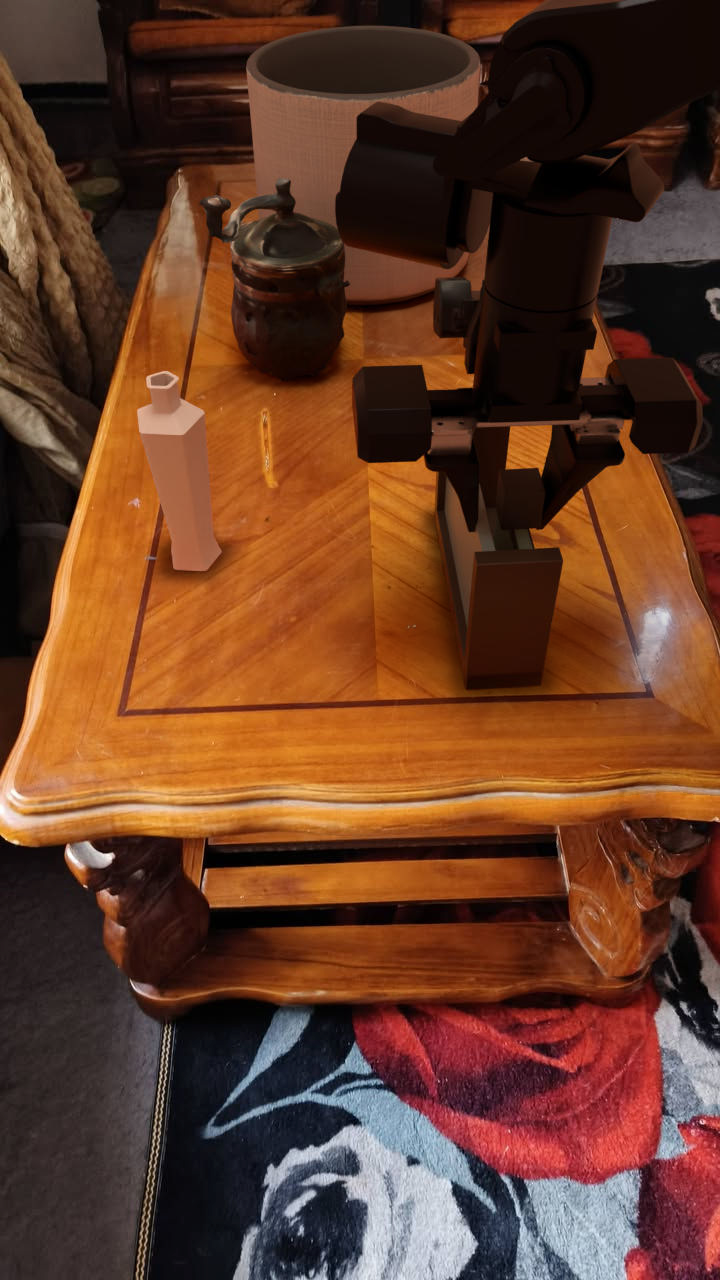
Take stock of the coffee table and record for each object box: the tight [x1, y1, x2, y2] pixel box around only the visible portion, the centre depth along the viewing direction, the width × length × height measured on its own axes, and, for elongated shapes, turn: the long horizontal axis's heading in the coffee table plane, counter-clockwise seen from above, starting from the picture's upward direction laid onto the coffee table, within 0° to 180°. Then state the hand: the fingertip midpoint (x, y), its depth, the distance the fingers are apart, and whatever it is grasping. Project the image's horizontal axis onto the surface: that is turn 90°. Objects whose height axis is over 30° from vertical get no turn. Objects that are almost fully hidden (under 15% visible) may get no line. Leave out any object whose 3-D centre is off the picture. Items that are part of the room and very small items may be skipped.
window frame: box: [433, 426, 564, 691], centre depth 65 cm, size 5×18×11 cm, turn 3°
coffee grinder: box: [198, 178, 350, 382], centre depth 84 cm, size 13×15×18 cm
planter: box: [245, 25, 481, 306], centre depth 98 cm, size 23×23×20 cm
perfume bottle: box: [136, 370, 223, 572], centre depth 67 cm, size 5×4×15 cm
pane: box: [494, 467, 546, 551], centre depth 61 cm, size 2×7×11 cm, turn 3°
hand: (504, 526), depth 59 cm, fingers open, 4 cm apart
